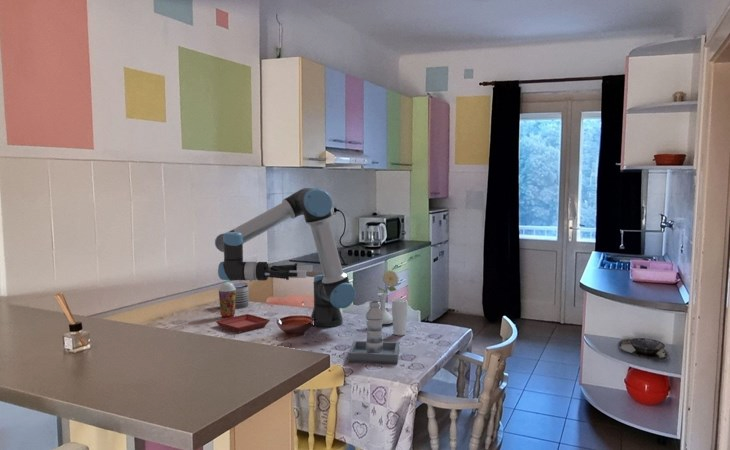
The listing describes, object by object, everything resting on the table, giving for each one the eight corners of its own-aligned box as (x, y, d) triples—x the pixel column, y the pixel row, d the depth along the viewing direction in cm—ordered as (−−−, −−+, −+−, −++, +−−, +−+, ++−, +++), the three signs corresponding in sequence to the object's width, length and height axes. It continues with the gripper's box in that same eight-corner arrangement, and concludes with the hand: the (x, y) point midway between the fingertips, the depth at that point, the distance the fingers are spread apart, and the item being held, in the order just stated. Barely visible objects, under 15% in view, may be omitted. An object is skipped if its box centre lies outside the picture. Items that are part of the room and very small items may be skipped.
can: (248, 308, 292) (248, 285, 291) (226, 309, 289) (225, 286, 288) (248, 303, 303) (248, 281, 302) (226, 304, 300) (226, 282, 300)
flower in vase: (371, 326, 256) (371, 272, 254) (370, 320, 267) (370, 268, 265) (399, 326, 256) (399, 272, 254) (397, 320, 267) (397, 268, 265)
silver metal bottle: (364, 351, 215) (364, 300, 213) (382, 351, 215) (382, 300, 214) (366, 356, 208) (366, 304, 207) (384, 356, 209) (384, 303, 207)
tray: (353, 349, 221) (353, 340, 221) (399, 350, 219) (399, 342, 219) (348, 362, 205) (348, 353, 205) (397, 364, 203) (397, 354, 203)
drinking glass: (406, 336, 239) (406, 302, 237) (390, 336, 240) (390, 301, 239) (408, 332, 245) (408, 299, 244) (392, 331, 247) (393, 298, 245)
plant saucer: (214, 327, 255) (214, 320, 255) (247, 320, 268) (247, 313, 268) (237, 334, 243) (237, 327, 243) (270, 326, 256) (270, 319, 256)
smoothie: (215, 318, 271) (214, 277, 269) (225, 314, 278) (225, 274, 277) (229, 319, 268) (229, 278, 266) (240, 315, 275) (239, 275, 274)
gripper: (265, 274, 238) (315, 275, 236) (248, 286, 213) (303, 286, 211) (265, 257, 237) (314, 257, 235) (247, 266, 212) (302, 267, 210)
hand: (309, 271), depth 223 cm, fingers open, 13 cm apart
